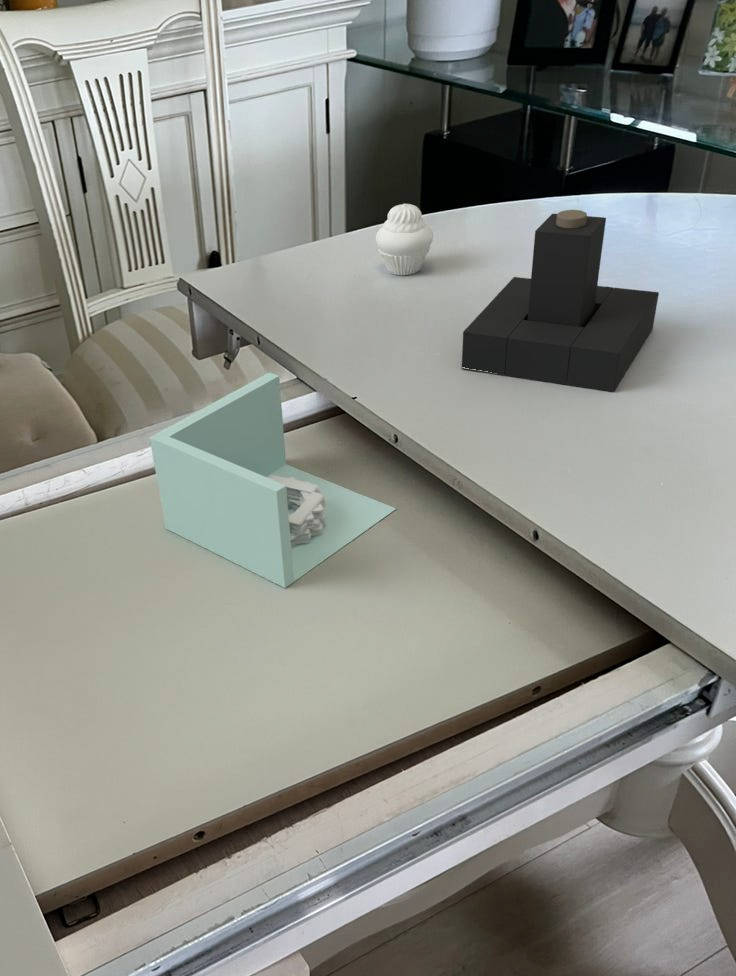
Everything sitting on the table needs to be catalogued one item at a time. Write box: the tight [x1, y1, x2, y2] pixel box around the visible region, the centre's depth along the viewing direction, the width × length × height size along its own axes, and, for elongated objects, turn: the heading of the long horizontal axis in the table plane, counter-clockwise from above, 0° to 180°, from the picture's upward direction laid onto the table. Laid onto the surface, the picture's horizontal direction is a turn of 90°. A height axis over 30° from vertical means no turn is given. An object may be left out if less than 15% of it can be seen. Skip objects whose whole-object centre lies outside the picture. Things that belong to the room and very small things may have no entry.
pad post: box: [527, 209, 607, 328], centre depth 87 cm, size 5×5×12 cm
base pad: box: [461, 276, 660, 393], centre depth 89 cm, size 13×13×4 cm
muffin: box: [375, 202, 434, 276], centre depth 106 cm, size 6×6×7 cm
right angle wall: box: [149, 372, 397, 589], centre depth 71 cm, size 12×12×8 cm
